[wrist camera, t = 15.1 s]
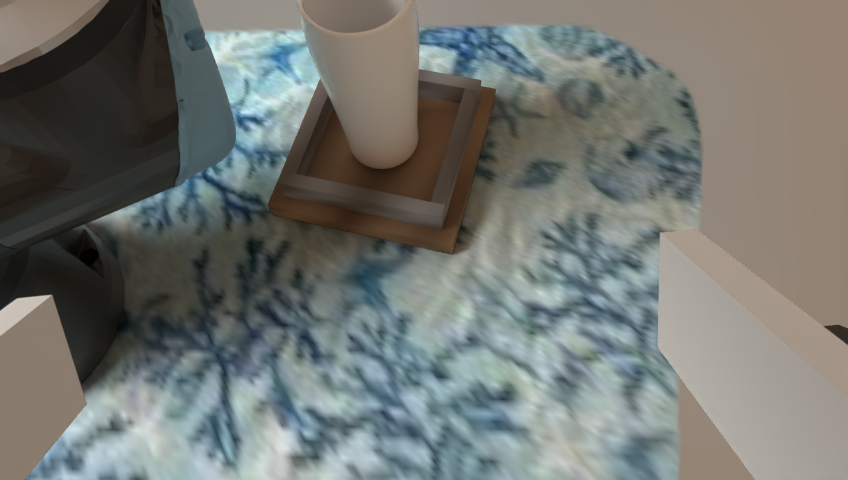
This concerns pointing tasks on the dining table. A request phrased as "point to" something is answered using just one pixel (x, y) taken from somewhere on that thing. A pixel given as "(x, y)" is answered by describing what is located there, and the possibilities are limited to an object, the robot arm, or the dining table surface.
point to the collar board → (391, 169)
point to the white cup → (368, 72)
